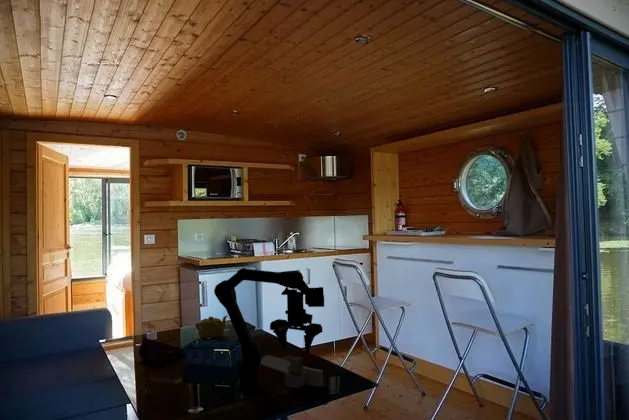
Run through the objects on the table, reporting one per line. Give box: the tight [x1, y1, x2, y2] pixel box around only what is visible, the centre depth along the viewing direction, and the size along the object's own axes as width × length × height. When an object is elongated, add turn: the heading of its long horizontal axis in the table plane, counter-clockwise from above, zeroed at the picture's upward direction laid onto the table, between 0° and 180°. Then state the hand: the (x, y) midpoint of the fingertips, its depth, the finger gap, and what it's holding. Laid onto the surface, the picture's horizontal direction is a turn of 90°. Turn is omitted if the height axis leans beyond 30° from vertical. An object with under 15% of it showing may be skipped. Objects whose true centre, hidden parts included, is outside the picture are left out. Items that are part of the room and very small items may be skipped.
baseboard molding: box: [259, 354, 310, 375], centre depth 181 cm, size 31×3×12 cm
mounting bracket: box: [138, 337, 185, 365], centre depth 195 cm, size 9×8×18 cm
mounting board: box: [288, 365, 324, 388], centre depth 163 cm, size 2×14×6 cm, turn 60°
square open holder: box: [284, 370, 308, 389], centre depth 159 cm, size 8×6×4 cm
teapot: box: [194, 315, 229, 340], centre depth 228 cm, size 14×13×10 cm
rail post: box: [289, 356, 304, 376], centre depth 158 cm, size 3×3×8 cm
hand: (296, 351), depth 158 cm, fingers open, 9 cm apart
